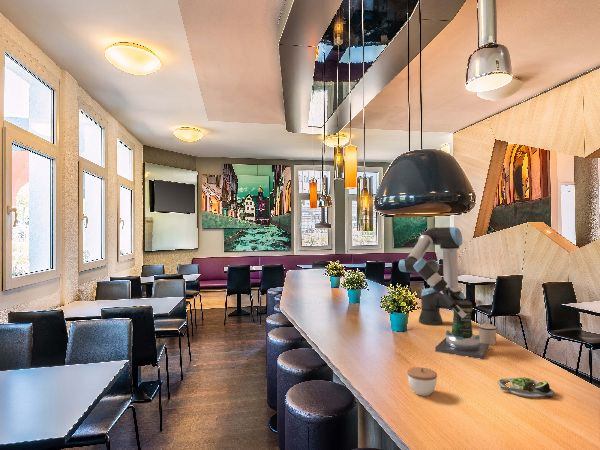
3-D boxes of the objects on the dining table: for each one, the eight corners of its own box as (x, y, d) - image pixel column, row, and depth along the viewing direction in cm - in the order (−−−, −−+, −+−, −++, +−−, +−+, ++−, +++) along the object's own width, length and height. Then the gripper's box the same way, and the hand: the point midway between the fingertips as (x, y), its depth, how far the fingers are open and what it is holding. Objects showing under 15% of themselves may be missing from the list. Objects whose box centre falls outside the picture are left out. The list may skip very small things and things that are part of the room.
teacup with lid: (500, 345, 204) (499, 323, 204) (483, 345, 203) (483, 323, 204) (488, 338, 216) (488, 318, 216) (472, 339, 215) (472, 318, 216)
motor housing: (445, 340, 211) (445, 326, 211) (489, 347, 199) (488, 332, 199) (435, 351, 193) (435, 334, 193) (482, 359, 181) (482, 342, 181)
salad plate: (514, 402, 136) (514, 389, 136) (485, 382, 154) (485, 371, 154) (564, 400, 138) (564, 387, 138) (530, 381, 155) (530, 370, 156)
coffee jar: (456, 338, 192) (456, 301, 192) (449, 333, 200) (449, 298, 200) (475, 337, 193) (475, 301, 193) (467, 333, 200) (467, 298, 201)
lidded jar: (408, 384, 150) (408, 361, 150) (437, 389, 146) (437, 365, 147) (406, 395, 140) (406, 370, 141) (436, 400, 136) (436, 374, 137)
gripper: (438, 284, 215) (466, 314, 207) (425, 290, 195) (456, 323, 186) (447, 276, 213) (476, 305, 204) (436, 280, 192) (468, 314, 183)
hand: (467, 314), depth 195 cm, fingers open, 13 cm apart
